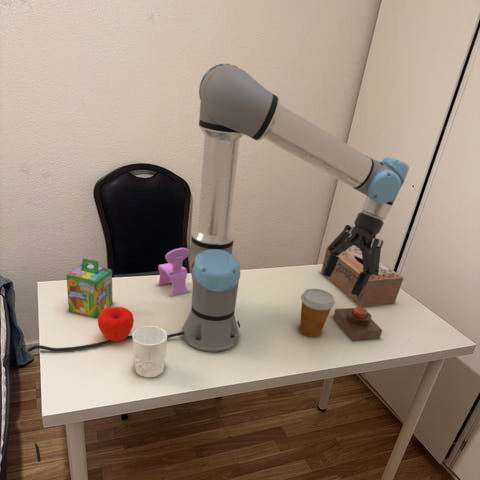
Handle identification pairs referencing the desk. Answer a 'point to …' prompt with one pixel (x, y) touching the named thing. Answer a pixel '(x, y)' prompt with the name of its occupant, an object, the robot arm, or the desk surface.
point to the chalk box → (89, 288)
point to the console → (357, 325)
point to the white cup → (149, 350)
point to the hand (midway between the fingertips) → (339, 284)
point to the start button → (360, 312)
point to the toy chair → (174, 271)
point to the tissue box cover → (377, 287)
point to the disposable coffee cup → (314, 311)
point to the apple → (115, 323)
